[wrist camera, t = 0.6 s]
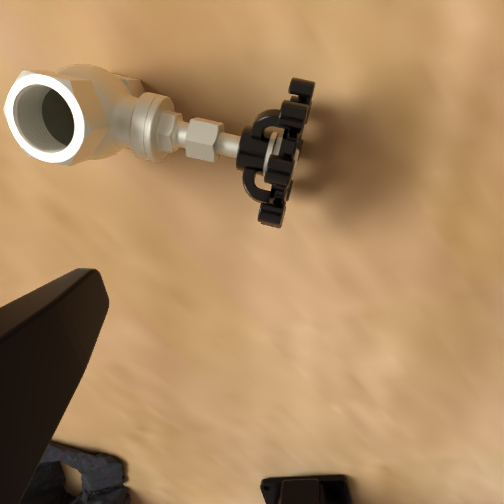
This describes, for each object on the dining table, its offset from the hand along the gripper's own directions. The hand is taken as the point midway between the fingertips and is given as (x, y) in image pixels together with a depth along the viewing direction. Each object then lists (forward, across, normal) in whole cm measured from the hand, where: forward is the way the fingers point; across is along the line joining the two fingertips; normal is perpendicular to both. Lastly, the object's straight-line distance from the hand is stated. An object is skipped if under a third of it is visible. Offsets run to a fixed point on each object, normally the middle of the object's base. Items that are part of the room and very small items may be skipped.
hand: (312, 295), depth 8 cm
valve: (+15, +7, +1) cm, 16 cm away
